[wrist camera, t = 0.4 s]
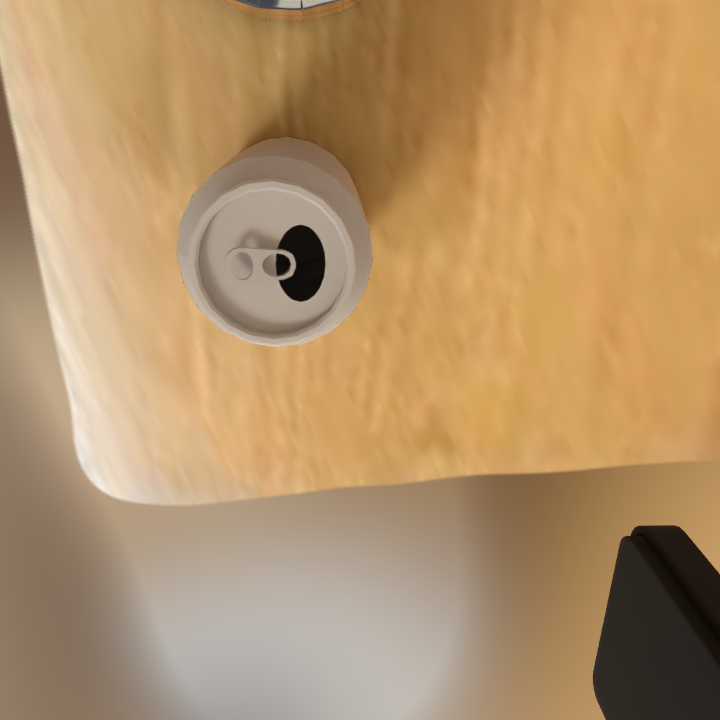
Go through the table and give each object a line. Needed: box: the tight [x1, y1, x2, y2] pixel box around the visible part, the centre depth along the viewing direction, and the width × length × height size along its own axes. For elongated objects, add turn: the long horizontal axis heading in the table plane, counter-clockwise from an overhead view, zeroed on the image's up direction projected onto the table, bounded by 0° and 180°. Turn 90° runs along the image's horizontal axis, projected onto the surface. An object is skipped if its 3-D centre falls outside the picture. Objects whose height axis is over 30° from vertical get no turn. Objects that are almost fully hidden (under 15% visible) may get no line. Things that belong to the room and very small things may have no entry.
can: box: [177, 137, 373, 347], centre depth 29 cm, size 8×8×12 cm
